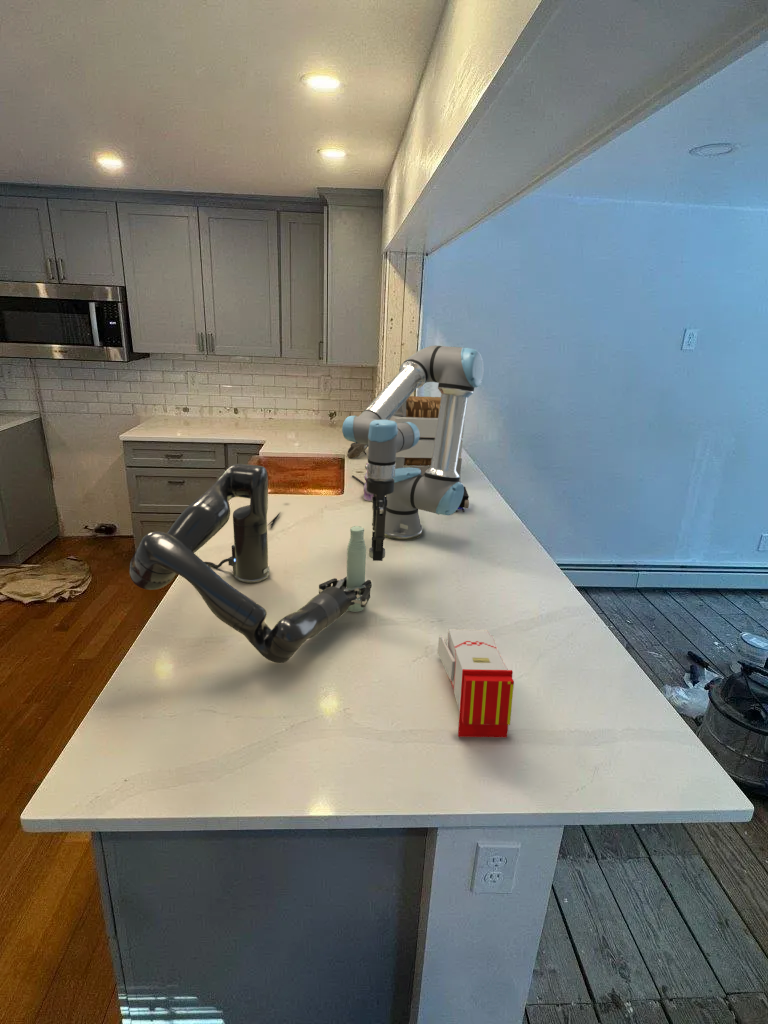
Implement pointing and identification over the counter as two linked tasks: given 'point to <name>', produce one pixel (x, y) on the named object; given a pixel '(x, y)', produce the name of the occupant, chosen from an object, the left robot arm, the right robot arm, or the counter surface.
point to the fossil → (356, 449)
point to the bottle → (356, 562)
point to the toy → (478, 682)
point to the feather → (273, 520)
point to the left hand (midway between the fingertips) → (360, 580)
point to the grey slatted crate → (421, 431)
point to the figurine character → (464, 501)
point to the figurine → (366, 495)
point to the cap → (372, 552)
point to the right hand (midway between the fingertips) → (376, 556)
